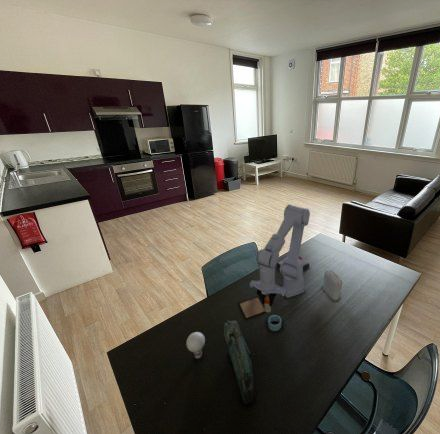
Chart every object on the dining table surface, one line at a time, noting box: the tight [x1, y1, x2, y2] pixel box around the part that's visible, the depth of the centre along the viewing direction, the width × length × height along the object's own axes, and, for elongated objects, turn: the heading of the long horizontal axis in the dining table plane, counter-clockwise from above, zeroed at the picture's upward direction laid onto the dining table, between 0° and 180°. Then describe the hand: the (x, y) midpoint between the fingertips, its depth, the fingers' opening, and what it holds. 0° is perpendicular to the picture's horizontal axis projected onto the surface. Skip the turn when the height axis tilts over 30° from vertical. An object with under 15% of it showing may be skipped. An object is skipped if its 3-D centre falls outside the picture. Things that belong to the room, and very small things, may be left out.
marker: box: [264, 295, 272, 313], centre depth 98 cm, size 3×3×6 cm
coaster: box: [239, 297, 266, 319], centre depth 108 cm, size 9×9×1 cm
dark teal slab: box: [223, 319, 255, 405], centre depth 77 cm, size 20×6×20 cm, turn 23°
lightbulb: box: [185, 331, 206, 360], centre depth 85 cm, size 6×6×11 cm
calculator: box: [276, 255, 310, 272], centre depth 133 cm, size 11×4×15 cm
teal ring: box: [267, 314, 283, 332], centre depth 99 cm, size 5×6×3 cm
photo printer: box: [322, 268, 343, 301], centre depth 114 cm, size 10×4×12 cm, turn 23°
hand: (267, 303), depth 98 cm, fingers closed on marker, 3 cm apart
